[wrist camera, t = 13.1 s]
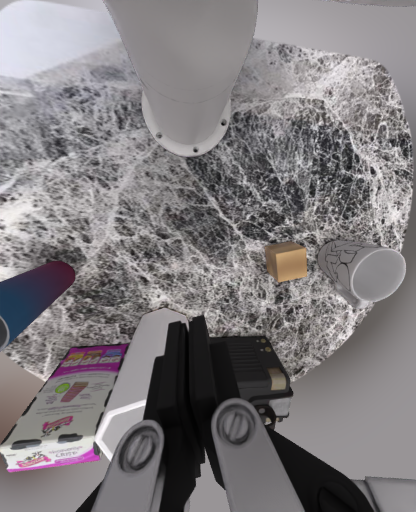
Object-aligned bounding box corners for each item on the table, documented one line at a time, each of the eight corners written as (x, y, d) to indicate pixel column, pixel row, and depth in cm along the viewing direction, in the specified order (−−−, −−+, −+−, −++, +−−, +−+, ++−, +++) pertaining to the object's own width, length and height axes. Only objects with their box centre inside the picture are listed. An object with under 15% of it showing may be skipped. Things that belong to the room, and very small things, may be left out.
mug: (351, 285, 41) (399, 313, 32) (311, 293, 41) (348, 323, 32) (354, 230, 38) (410, 243, 28) (311, 238, 38) (353, 254, 28)
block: (264, 246, 37) (276, 254, 32) (291, 241, 37) (306, 247, 33) (267, 271, 39) (278, 282, 34) (292, 266, 39) (307, 276, 34)
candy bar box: (75, 367, 41) (6, 475, 25) (70, 346, 39) (-7, 447, 24) (133, 363, 42) (100, 464, 26) (130, 342, 40) (94, 436, 25)
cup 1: (73, 298, 37) (-1, 365, 22) (32, 282, 35) (-74, 344, 21) (86, 266, 35) (17, 316, 21) (45, 248, 34) (-60, 289, 19)
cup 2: (190, 355, 43) (193, 468, 25) (135, 355, 41) (97, 475, 24) (194, 307, 39) (199, 400, 22) (134, 306, 38) (89, 403, 21)
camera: (264, 374, 46) (298, 455, 32) (202, 377, 45) (210, 464, 30) (270, 334, 43) (311, 403, 29) (204, 336, 42) (213, 410, 27)
